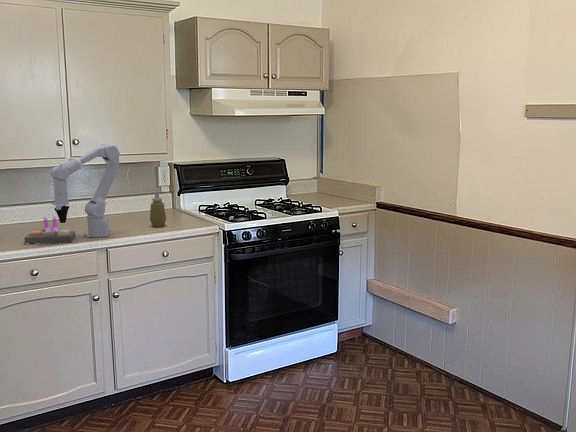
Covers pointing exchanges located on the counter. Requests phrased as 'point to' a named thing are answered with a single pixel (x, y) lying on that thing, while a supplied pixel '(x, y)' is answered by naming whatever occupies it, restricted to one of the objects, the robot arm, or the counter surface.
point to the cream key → (63, 232)
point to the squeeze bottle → (157, 212)
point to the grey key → (50, 233)
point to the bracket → (53, 224)
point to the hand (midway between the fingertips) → (63, 222)
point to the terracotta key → (36, 233)
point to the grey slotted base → (51, 238)
